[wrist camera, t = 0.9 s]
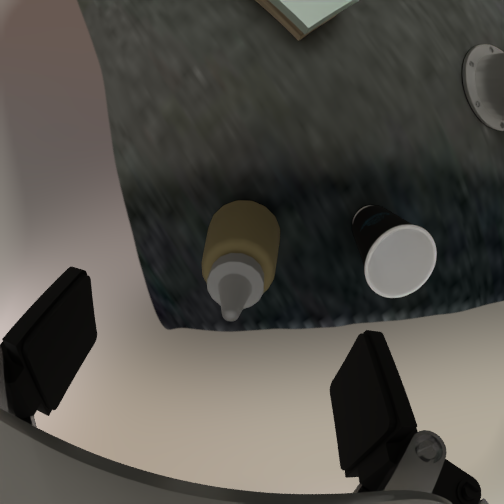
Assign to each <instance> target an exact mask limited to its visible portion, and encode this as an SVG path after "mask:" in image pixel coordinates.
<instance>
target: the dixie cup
mask: <svg viewBox="0 0 504 504" xmlns="http://www.w3.org/2000/svg"><path fill="white" fill-rule="evenodd" d="M352 232H353V235H354V238H355V241H356V244H357V246H358V249H359V252H360V255H361V258H362V261H363V264H364V267H365V277H366V281H367V283H368V285H369V286H370V288H371V289H372V290H373V291H374V292H376V293H377V294H379V295H381V296H384V297H388V298H398V297H403V296H406V295H408V294H411V293H412V292H414V291H416V290H417V289H418V288H420V287H421V286H422V285H423V284H424V283H425V282H426V281H427V279H428V278H429V276H430V275H431V273H432V271H433V269H434V266H435V262H436V254H437V253H436V246H435V242H434V240H433V238H432V236H431V235H430V234H429V233H428V232H427V231H426V230H425V229H423V228H421V227H419V226H416V225H412V224H410V223H409V222H407V221H405V220H404V219H402V218H400V217H399V216H397V215H395V214H393V213H392V212H390V211H388V210H387V209H385V208H383V207H381V206H376V205H368V206H365V207H363V208H361V209H360V210H359V211H358V212H357V213H356V214H355V216H354V218H353V223H352Z"/></svg>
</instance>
